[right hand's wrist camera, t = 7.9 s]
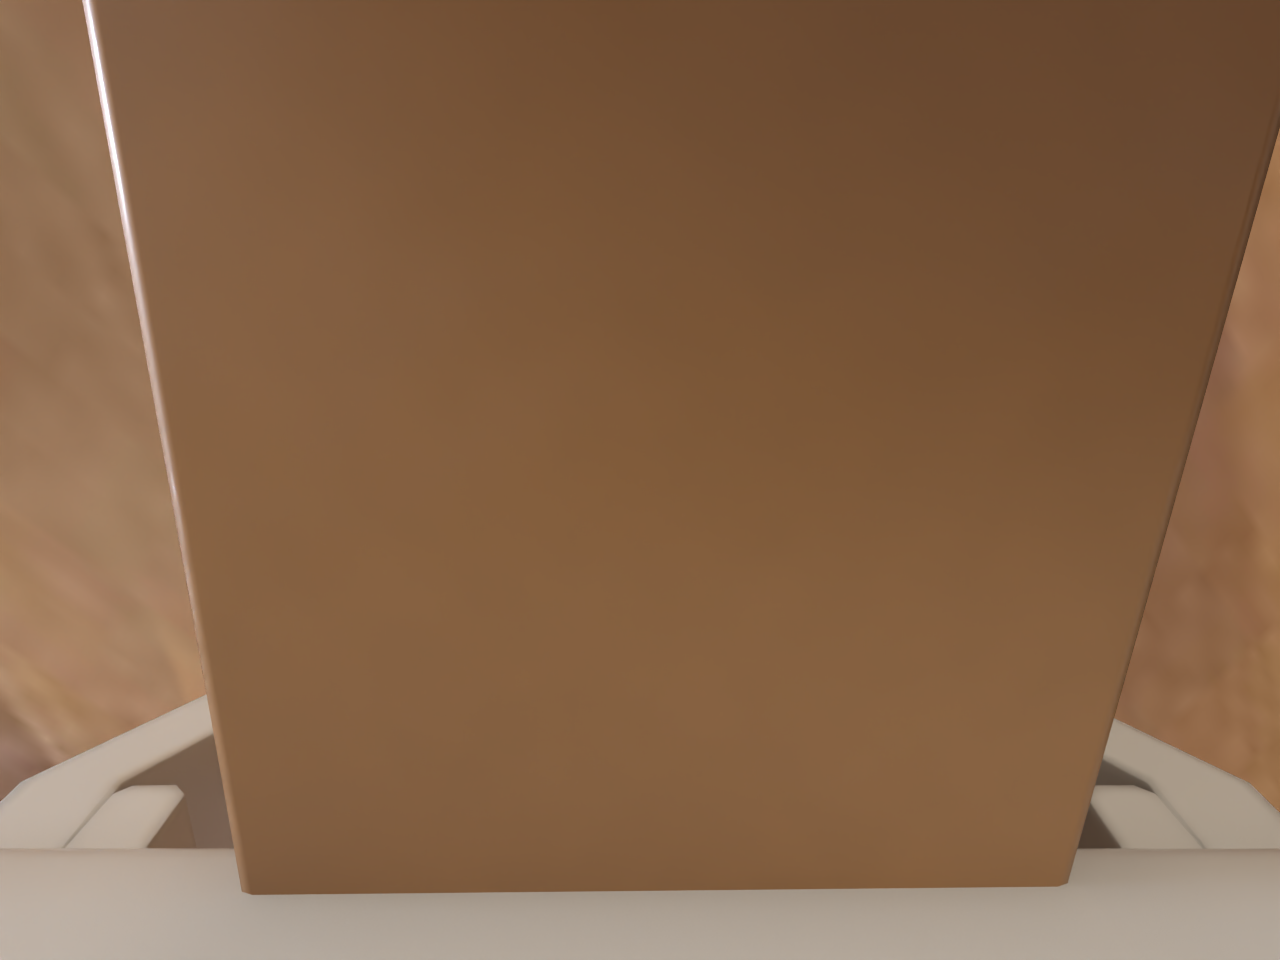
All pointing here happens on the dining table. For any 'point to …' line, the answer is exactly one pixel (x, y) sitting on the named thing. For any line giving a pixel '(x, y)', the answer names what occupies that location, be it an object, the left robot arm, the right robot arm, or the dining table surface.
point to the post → (675, 416)
